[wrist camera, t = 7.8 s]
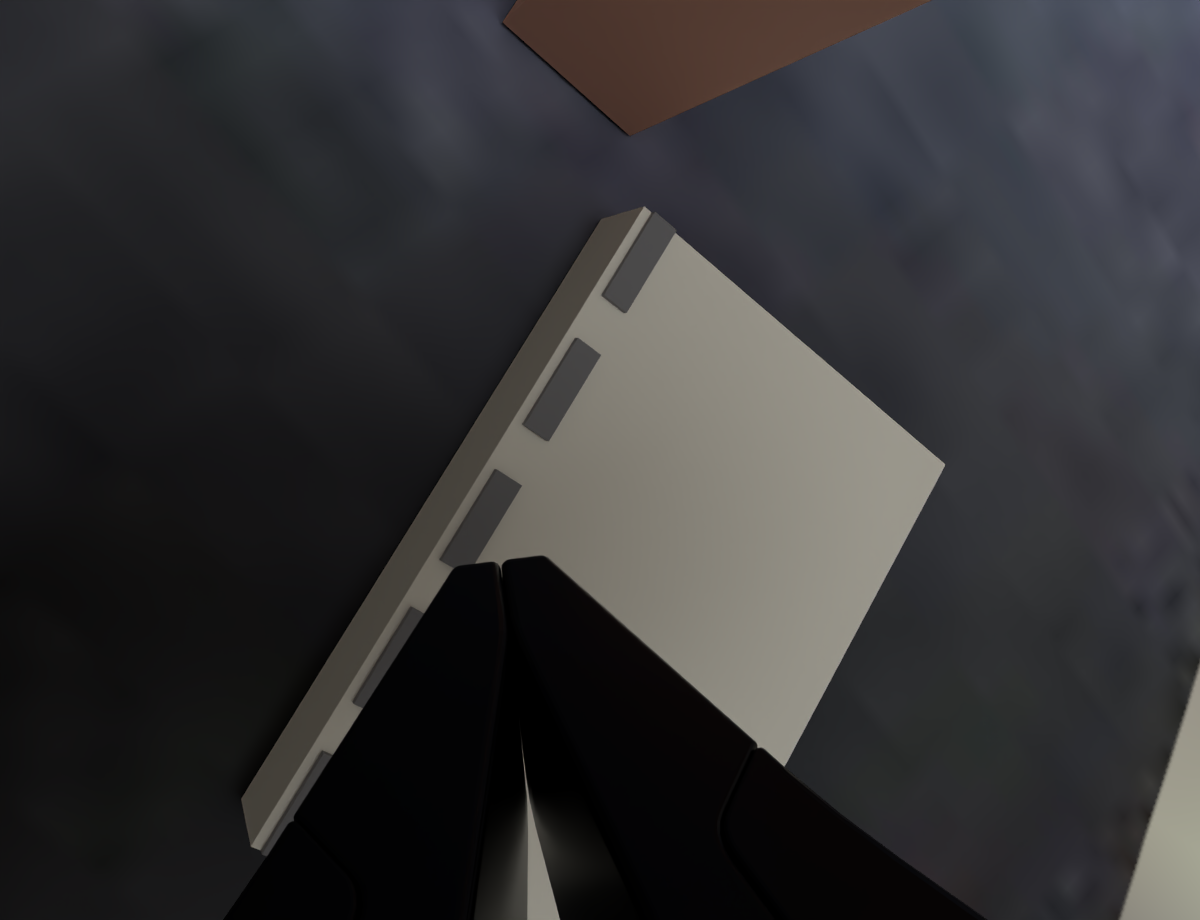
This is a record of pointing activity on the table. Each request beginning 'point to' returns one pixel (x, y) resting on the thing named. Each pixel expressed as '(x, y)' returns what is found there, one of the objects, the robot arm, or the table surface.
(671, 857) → the robot arm
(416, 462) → the table surface
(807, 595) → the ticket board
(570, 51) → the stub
